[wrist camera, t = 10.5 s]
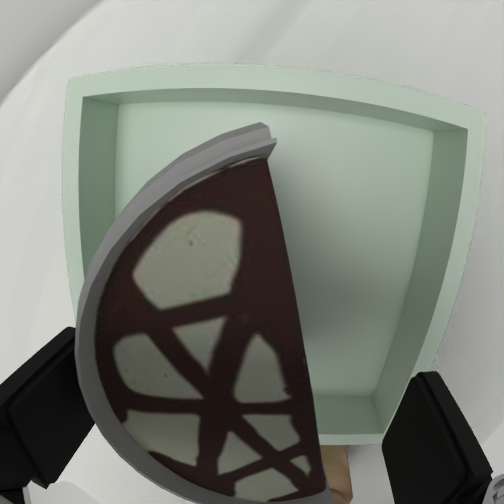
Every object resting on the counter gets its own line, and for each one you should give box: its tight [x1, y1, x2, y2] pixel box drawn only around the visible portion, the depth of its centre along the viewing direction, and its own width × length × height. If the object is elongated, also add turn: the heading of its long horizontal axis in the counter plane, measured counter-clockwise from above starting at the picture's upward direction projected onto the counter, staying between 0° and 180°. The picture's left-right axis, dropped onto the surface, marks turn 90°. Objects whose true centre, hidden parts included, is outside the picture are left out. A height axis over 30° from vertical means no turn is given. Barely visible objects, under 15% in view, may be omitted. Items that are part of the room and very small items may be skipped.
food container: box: [75, 122, 334, 504], centre depth 11 cm, size 12×6×10 cm, turn 13°
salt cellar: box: [320, 445, 353, 504], centre depth 18 cm, size 6×6×6 cm
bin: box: [62, 64, 487, 445], centre depth 15 cm, size 18×18×4 cm
